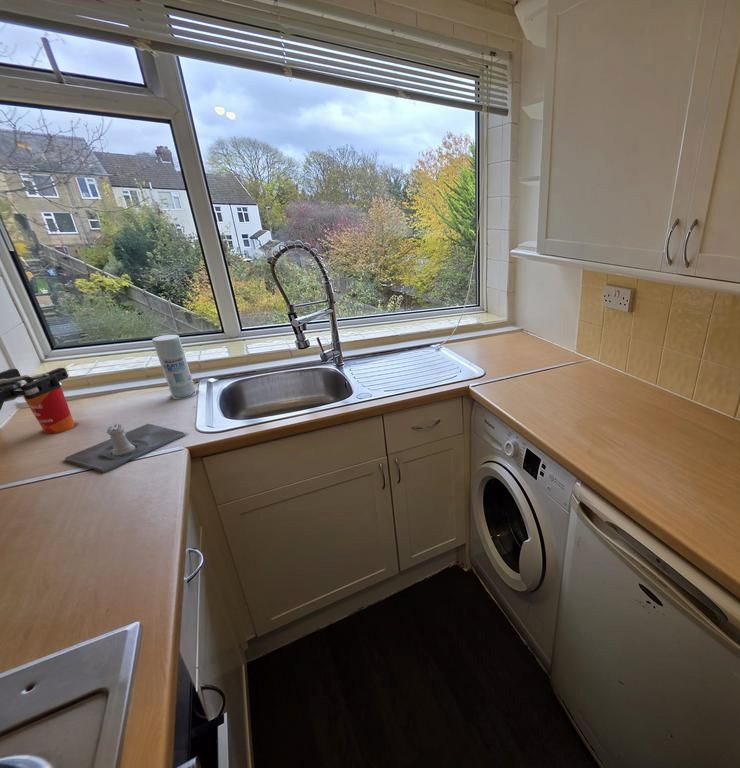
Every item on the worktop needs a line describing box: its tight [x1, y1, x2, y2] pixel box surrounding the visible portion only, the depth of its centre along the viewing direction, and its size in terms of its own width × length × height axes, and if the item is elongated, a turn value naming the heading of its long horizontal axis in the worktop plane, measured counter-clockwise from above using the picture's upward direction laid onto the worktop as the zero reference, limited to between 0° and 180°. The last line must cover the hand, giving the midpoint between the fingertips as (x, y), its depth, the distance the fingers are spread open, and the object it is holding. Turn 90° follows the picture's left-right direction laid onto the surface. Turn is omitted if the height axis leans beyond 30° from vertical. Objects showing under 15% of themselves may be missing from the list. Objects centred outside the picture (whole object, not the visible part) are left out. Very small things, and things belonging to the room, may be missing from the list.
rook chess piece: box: [106, 424, 136, 456], centre depth 99 cm, size 4×4×8 cm
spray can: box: [151, 334, 197, 400], centre depth 128 cm, size 6×6×20 cm
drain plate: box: [64, 423, 185, 474], centre depth 103 cm, size 18×14×2 cm
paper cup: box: [22, 381, 75, 434], centre depth 108 cm, size 8×8×14 cm
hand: (41, 372), depth 81 cm, fingers open, 8 cm apart
